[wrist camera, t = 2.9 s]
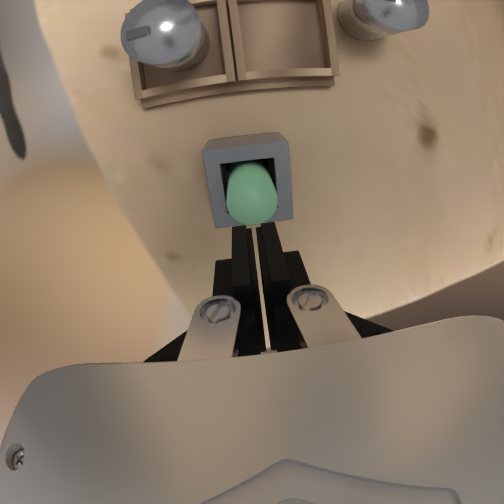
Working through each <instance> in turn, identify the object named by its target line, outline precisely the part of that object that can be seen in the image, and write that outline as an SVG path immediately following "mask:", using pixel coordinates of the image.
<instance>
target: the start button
mask: <svg viewBox="0 0 504 504" xmlns="http://www.w3.org/2000/svg"><path fill="white" fill-rule="evenodd" d="M226 204H227V208H228V211H229V213H230V214H231V216H232V217H233V218H234V219H235V220H237V221H238V222H240V223H243V224H247V225H256V224H260V223H263V222H265V221H267V220H268V219H269V218H270V217H271V216H272V215H273V214H274V212H275V211H276V208H277V205H278V196H277V193H276V190H275V187H274V185H273V182H272V180H271V177H270V175H269V172H268V170H267V167H266V165H265V164H264V162H263V161H262V160H261V159H255V160H247V161H238V162H233V163H232V165H231V167H230V169H229V176H228V187H227V199H226Z"/></svg>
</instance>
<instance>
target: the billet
mask: <svg viewBox="0 0 504 504" xmlns="http://www.w3.org/2000/svg"><path fill="white" fill-rule="evenodd" d="M337 14H338V19H339V22H340V24H341V26H342V27H343V29H344V30H345V31H346V32H347V33H348V34H350V35H351V36H353V37H355V38H357V39H359V40H364V41H371V40H375V39H378V38H382V37H386V36H389V35H393V34H397V33H401V32H405V31H409V30H414V29H418V28H420V27H422V26H423V25H425V23H426V22H427V20H428V17H429V6H428V3H427V0H343V1H342V2H341V3H340V5H339V7H338V12H337Z"/></svg>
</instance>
